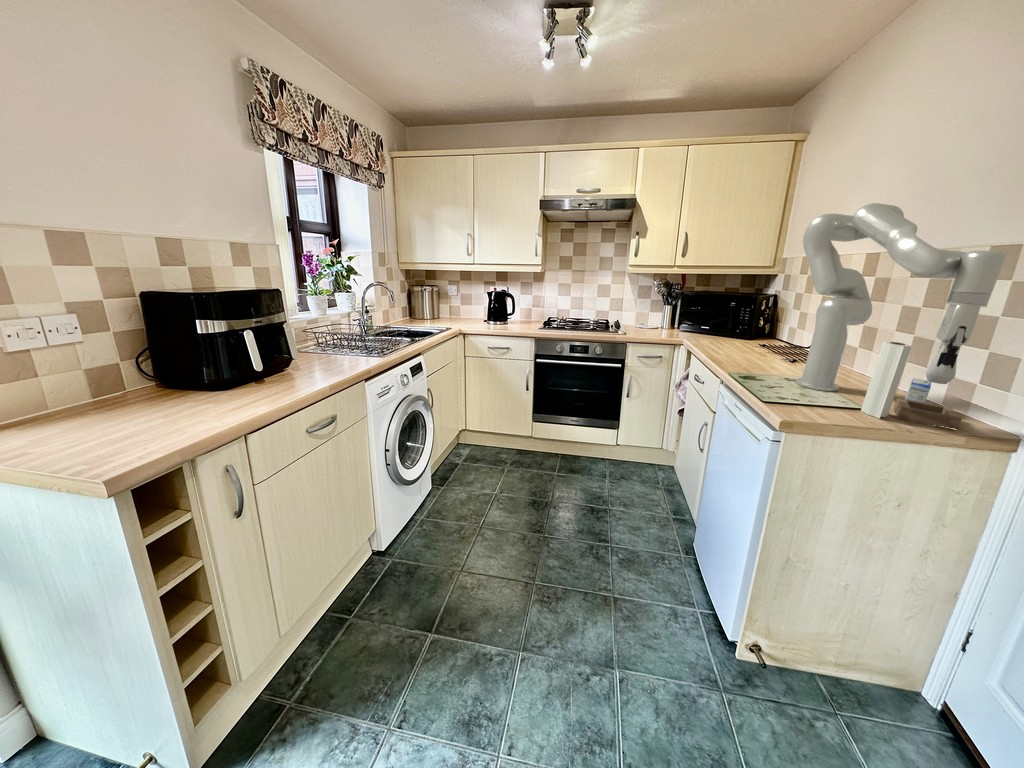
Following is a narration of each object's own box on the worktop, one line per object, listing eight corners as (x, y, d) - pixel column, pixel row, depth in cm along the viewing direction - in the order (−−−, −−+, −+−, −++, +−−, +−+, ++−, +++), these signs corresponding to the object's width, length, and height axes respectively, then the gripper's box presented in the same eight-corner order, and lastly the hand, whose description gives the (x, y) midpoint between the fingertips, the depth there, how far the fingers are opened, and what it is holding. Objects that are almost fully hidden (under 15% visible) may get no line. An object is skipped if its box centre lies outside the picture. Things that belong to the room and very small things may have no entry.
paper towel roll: (866, 409, 124) (889, 340, 118) (891, 416, 119) (916, 344, 113) (854, 412, 121) (877, 341, 115) (879, 419, 116) (904, 346, 110)
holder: (893, 408, 126) (897, 397, 125) (947, 418, 119) (951, 407, 118) (898, 419, 117) (902, 407, 116) (957, 430, 110) (962, 418, 109)
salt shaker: (957, 386, 112) (975, 339, 108) (933, 383, 113) (950, 337, 109) (940, 380, 117) (957, 335, 113) (917, 378, 118) (933, 334, 114)
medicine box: (903, 403, 132) (912, 377, 130) (922, 407, 129) (931, 381, 127) (901, 408, 127) (911, 382, 124) (921, 412, 124) (931, 385, 121)
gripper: (941, 297, 117) (919, 359, 122) (954, 299, 104) (929, 369, 109) (979, 299, 112) (955, 364, 118) (998, 302, 100) (969, 374, 105)
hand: (943, 365), depth 113 cm, fingers closed on salt shaker, 3 cm apart
